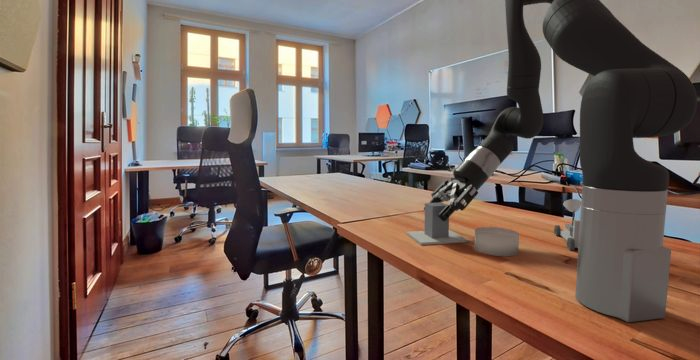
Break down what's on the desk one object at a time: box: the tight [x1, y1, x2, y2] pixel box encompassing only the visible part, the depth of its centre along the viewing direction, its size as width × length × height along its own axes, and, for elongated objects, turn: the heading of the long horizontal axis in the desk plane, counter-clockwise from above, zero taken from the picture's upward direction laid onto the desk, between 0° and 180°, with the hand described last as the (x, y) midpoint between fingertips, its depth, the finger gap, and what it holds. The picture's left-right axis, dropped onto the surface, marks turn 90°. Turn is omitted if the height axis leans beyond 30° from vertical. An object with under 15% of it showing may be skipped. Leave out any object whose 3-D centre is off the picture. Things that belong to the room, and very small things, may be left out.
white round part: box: [473, 226, 520, 257], centre depth 74 cm, size 9×9×4 cm
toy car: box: [553, 198, 581, 252], centre depth 78 cm, size 18×10×12 cm
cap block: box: [423, 202, 450, 238], centre depth 83 cm, size 4×4×8 cm
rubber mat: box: [405, 229, 469, 246], centre depth 83 cm, size 10×12×1 cm
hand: (433, 215), depth 83 cm, fingers open, 8 cm apart
